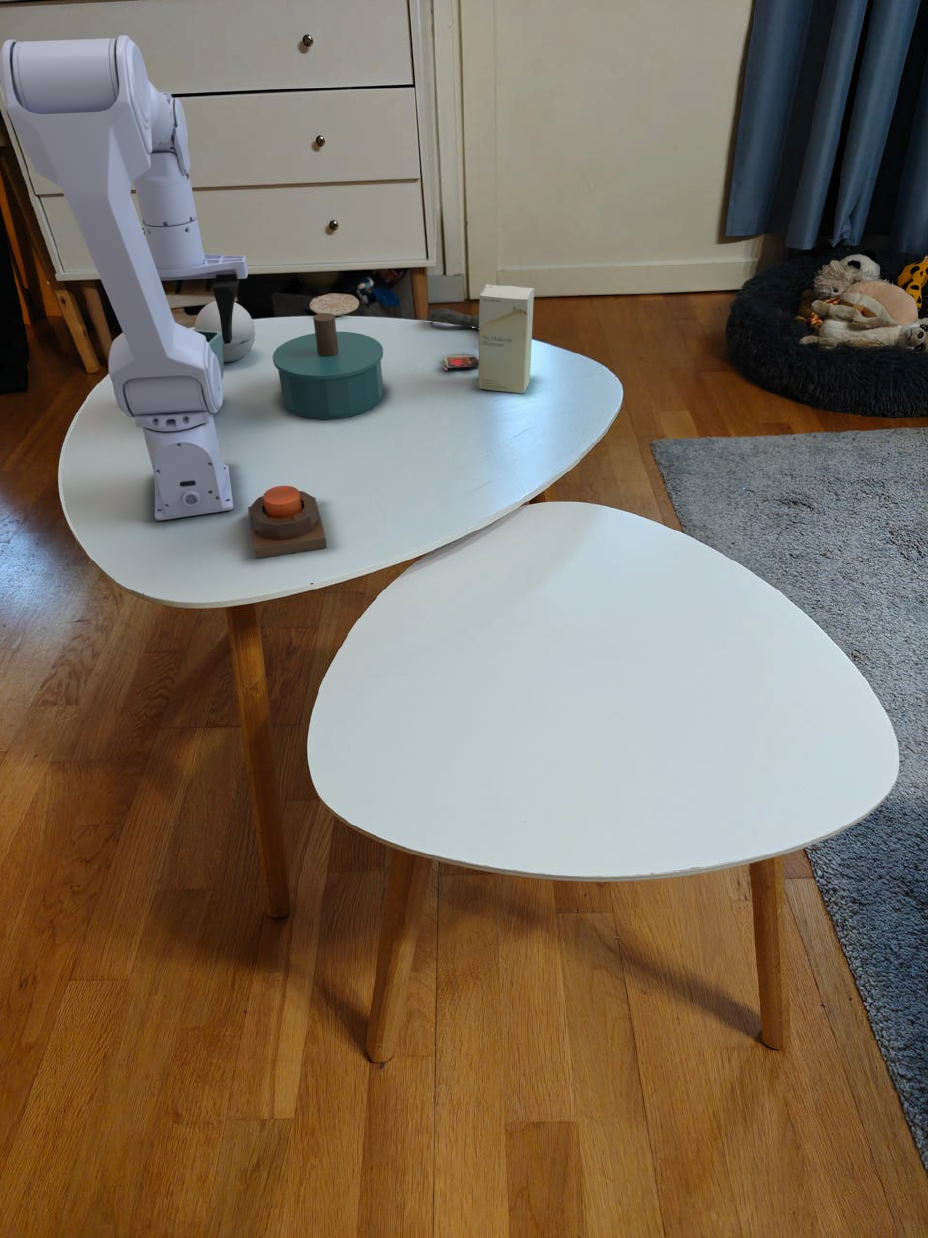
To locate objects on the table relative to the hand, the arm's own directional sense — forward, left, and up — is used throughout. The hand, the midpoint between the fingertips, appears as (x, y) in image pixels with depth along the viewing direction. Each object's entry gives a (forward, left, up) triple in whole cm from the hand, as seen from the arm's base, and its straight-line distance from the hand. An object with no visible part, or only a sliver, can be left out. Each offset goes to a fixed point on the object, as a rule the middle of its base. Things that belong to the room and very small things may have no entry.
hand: (194, 342), depth 110 cm
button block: (-27, -6, -10) cm, 30 cm away
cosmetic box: (0, -37, -10) cm, 39 cm away
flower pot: (+4, +3, -10) cm, 11 cm away
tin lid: (+3, -15, -5) cm, 16 cm away
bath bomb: (+19, -3, -10) cm, 21 cm away
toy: (+19, -37, -6) cm, 42 cm away
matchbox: (+7, -34, -10) cm, 36 cm away
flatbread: (+33, -20, -10) cm, 40 cm away
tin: (+3, -15, -10) cm, 19 cm away
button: (-27, -6, -7) cm, 29 cm away
